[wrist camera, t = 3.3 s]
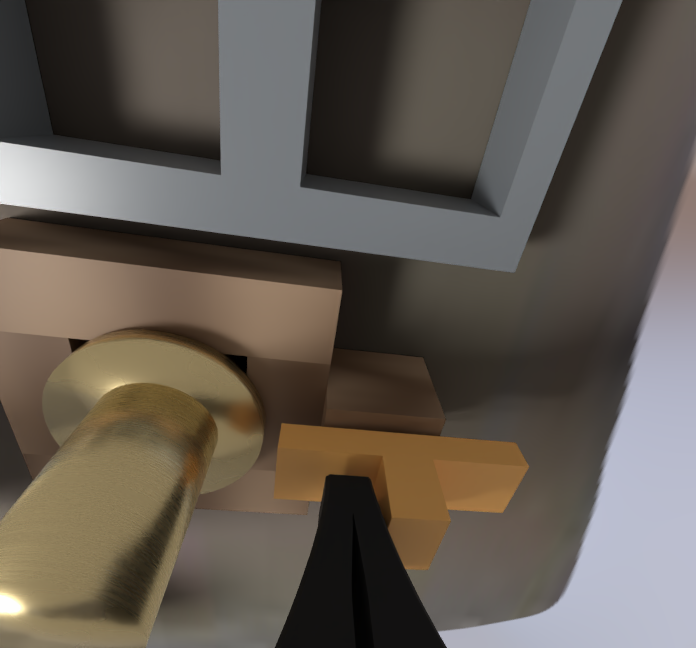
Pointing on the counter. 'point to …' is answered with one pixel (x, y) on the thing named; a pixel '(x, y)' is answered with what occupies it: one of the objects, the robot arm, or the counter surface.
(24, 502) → the brass peg
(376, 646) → the robot arm
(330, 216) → the rack
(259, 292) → the socket block
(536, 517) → the counter surface
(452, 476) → the latch bar
